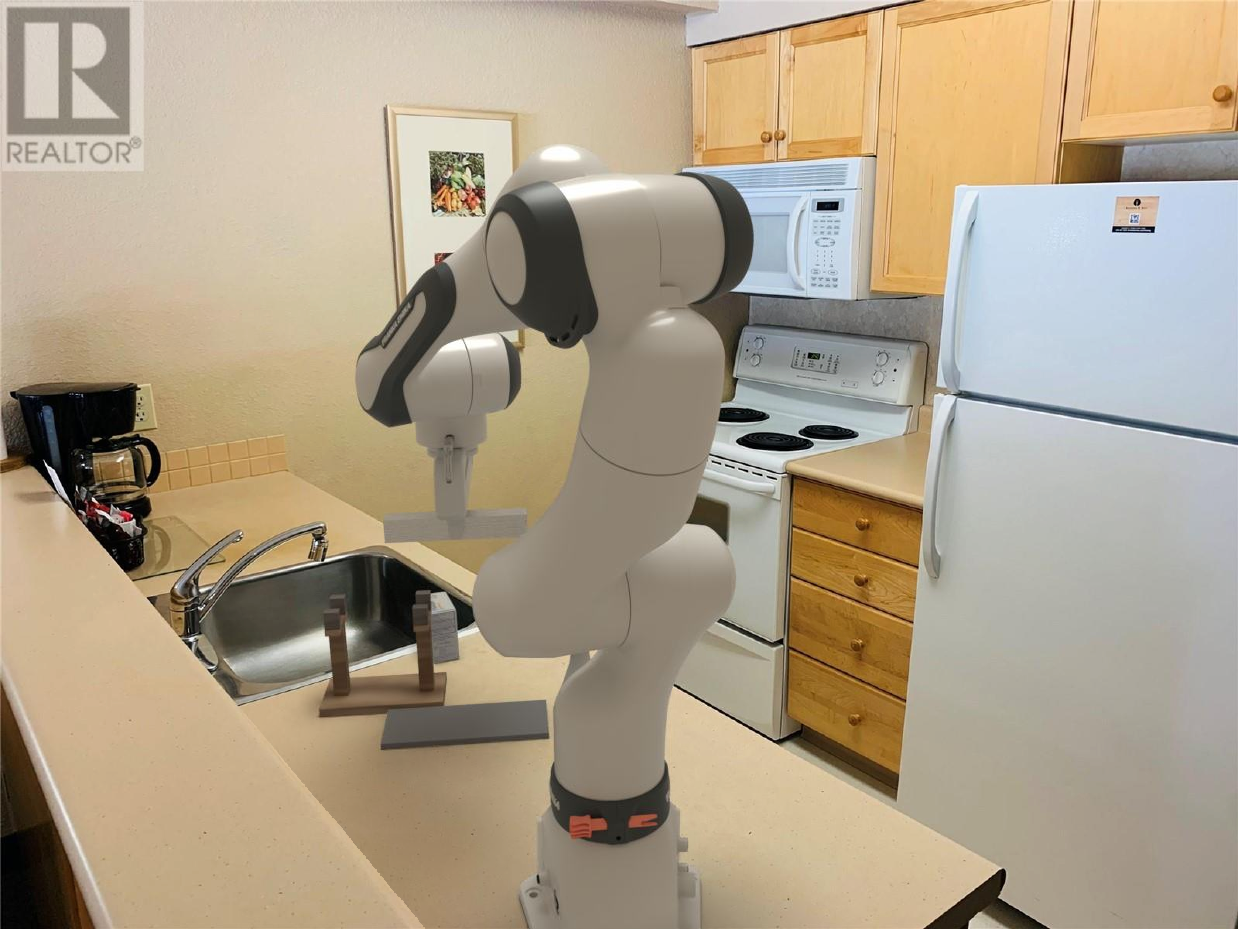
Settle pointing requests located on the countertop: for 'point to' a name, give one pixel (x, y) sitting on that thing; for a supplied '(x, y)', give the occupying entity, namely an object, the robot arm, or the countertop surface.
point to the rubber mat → (465, 724)
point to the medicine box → (444, 628)
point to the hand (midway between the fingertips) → (457, 531)
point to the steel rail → (432, 529)
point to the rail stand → (380, 690)
